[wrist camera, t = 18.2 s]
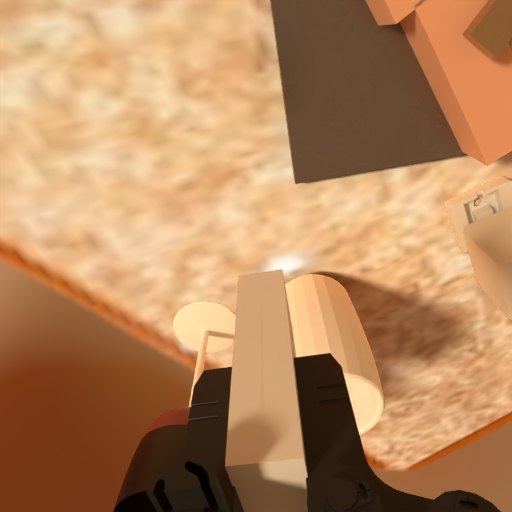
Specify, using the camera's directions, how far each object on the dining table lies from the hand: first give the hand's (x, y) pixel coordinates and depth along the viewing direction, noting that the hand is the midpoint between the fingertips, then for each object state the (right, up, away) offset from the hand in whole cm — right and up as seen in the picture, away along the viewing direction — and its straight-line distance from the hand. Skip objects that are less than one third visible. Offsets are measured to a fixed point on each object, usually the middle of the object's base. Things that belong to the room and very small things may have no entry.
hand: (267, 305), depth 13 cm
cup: (+5, -3, +28) cm, 28 cm away
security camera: (+21, +5, +23) cm, 32 cm away
